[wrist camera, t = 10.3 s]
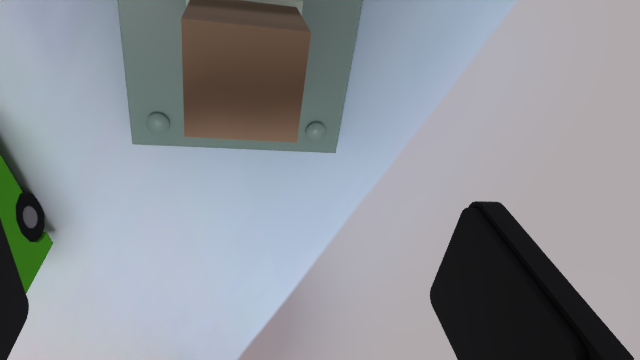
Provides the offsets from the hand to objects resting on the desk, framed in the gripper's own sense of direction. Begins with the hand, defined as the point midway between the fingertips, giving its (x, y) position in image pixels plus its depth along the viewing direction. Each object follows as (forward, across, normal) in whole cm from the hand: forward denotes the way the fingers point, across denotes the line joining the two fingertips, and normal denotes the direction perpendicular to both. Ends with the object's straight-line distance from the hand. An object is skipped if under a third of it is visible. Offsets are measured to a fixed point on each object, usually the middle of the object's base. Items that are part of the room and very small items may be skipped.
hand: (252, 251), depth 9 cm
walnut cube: (+16, 0, 0) cm, 16 cm away
